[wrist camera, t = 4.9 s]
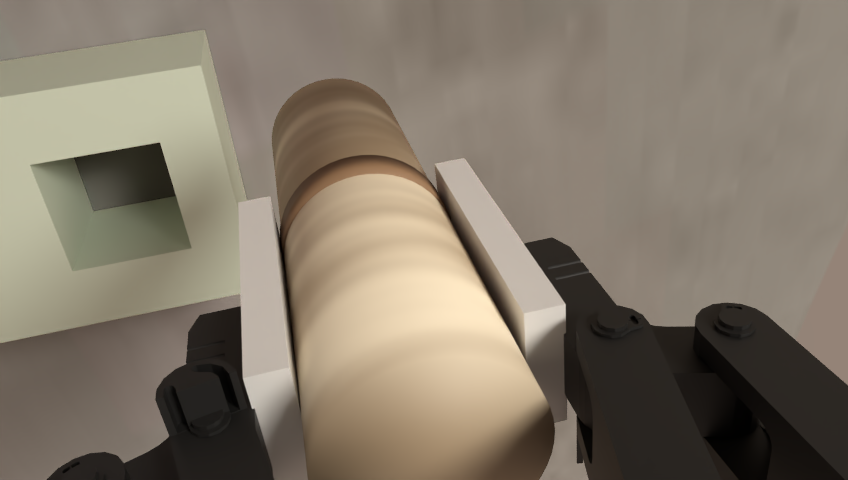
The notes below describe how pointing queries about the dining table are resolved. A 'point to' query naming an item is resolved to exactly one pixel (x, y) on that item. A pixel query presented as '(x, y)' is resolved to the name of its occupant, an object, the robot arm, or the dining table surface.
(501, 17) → the dining table surface
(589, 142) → the dining table surface
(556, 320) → the robot arm
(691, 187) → the dining table surface
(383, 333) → the dowel
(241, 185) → the pale green holed block
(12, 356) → the dining table surface
